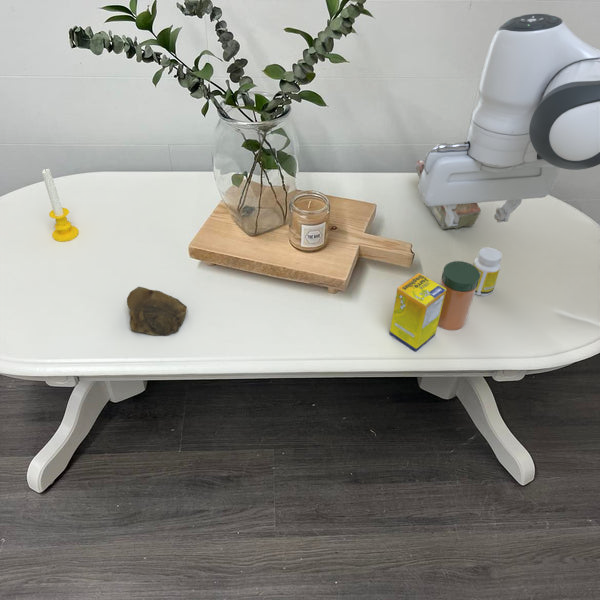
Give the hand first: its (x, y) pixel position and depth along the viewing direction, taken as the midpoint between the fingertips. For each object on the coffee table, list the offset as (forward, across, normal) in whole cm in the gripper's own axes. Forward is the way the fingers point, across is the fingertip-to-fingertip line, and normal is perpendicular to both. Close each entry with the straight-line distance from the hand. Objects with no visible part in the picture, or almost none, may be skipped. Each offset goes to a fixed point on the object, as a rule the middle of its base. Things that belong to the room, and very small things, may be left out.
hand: (475, 222), depth 89 cm
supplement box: (+21, -8, -3) cm, 23 cm away
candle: (+21, -71, +36) cm, 82 cm away
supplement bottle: (+21, +9, +7) cm, 24 cm away
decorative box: (+21, +10, +35) cm, 42 cm away
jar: (+21, 0, 0) cm, 21 cm away
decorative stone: (+21, -52, +8) cm, 57 cm away
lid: (+11, 0, 0) cm, 11 cm away
